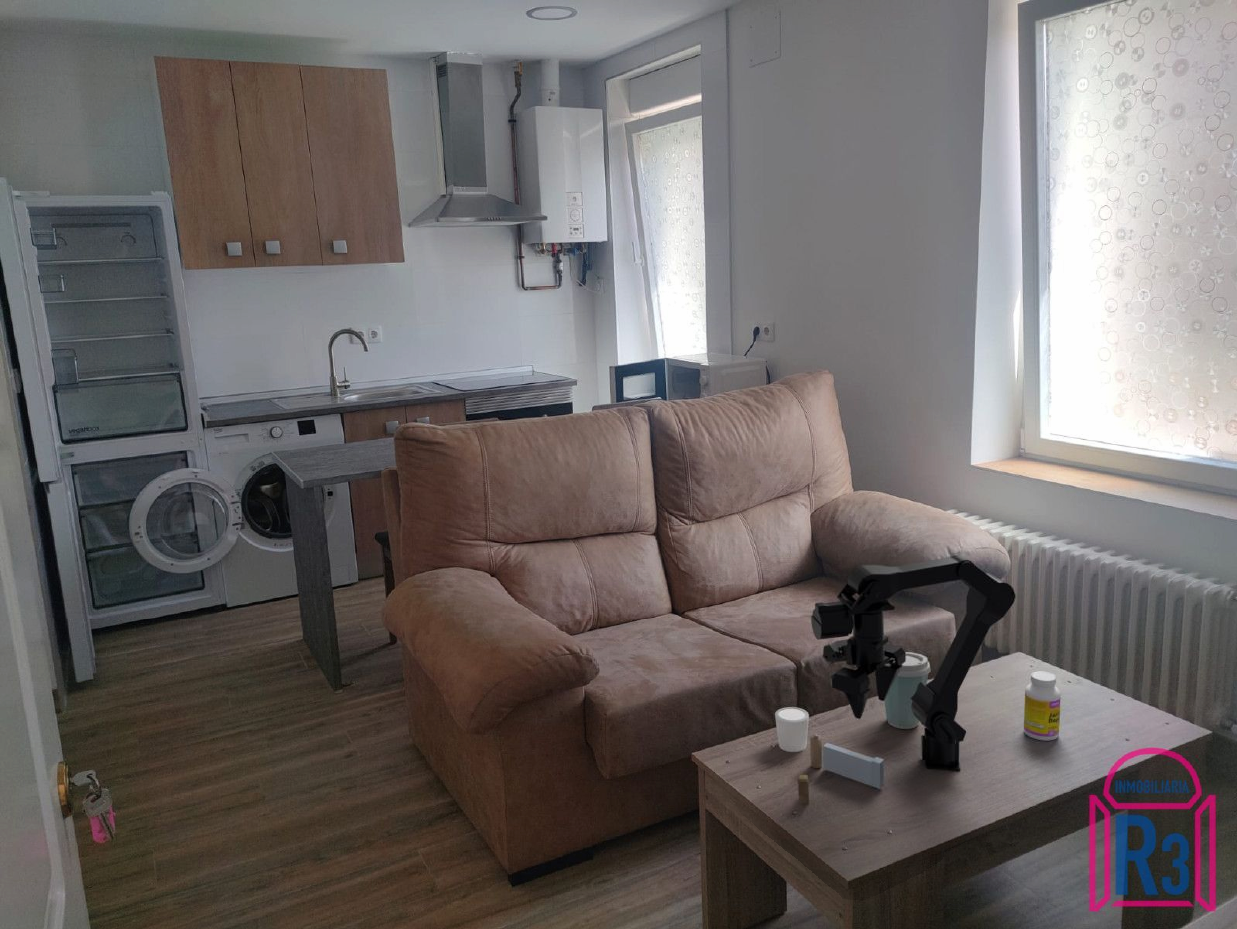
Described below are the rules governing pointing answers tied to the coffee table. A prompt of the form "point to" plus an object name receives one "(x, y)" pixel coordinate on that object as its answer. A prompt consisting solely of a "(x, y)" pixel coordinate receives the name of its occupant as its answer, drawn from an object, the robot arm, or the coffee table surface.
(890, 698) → the disposable coffee cup
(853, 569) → the robot arm
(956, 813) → the coffee table surface
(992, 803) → the coffee table surface
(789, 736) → the white cup
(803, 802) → the brown rectangular block
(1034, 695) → the supplement bottle
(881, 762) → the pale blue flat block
